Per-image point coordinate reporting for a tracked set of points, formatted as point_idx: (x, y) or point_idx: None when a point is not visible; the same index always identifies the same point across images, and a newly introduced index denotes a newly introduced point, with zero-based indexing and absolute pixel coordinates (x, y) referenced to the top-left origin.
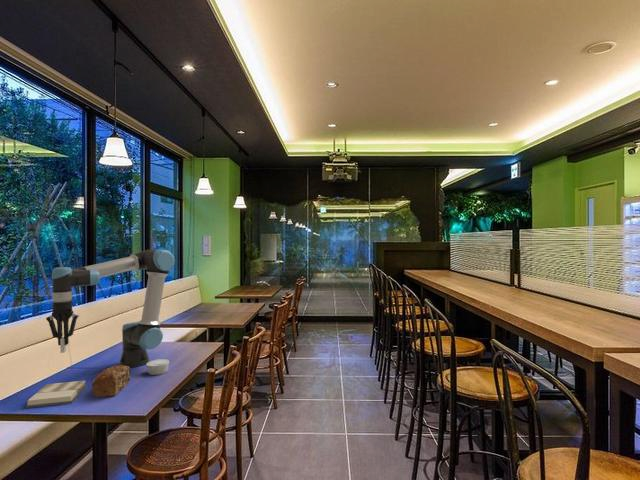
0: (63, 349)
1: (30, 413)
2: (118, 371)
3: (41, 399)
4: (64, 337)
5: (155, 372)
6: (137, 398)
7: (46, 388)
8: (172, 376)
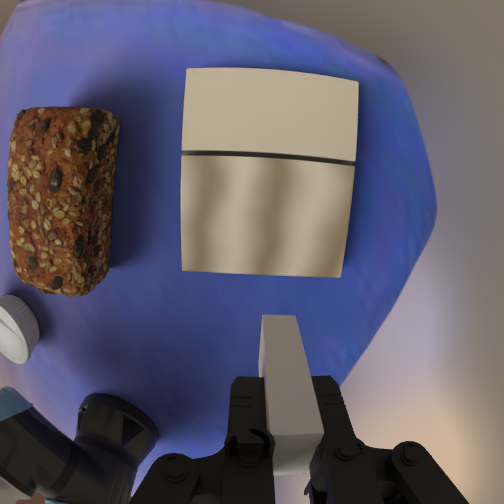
0: (270, 333)
1: (316, 31)
2: (8, 177)
3: (306, 73)
4: (256, 440)
5: (10, 297)
6: (14, 93)
7: (329, 214)
8: None
